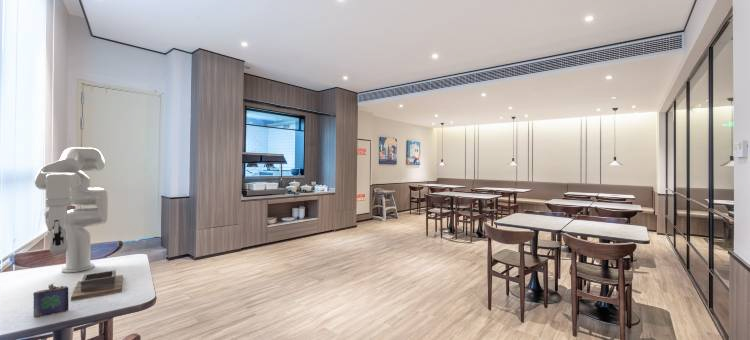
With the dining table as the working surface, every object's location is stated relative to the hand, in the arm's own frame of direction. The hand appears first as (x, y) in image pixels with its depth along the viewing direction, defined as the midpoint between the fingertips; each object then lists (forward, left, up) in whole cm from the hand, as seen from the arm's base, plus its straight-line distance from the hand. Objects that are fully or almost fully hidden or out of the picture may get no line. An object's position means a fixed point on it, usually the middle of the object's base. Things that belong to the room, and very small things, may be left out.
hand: (59, 245), depth 138 cm
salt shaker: (0, 0, -3) cm, 3 cm away
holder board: (+1, +13, -21) cm, 24 cm away
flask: (+23, +1, -21) cm, 31 cm away
